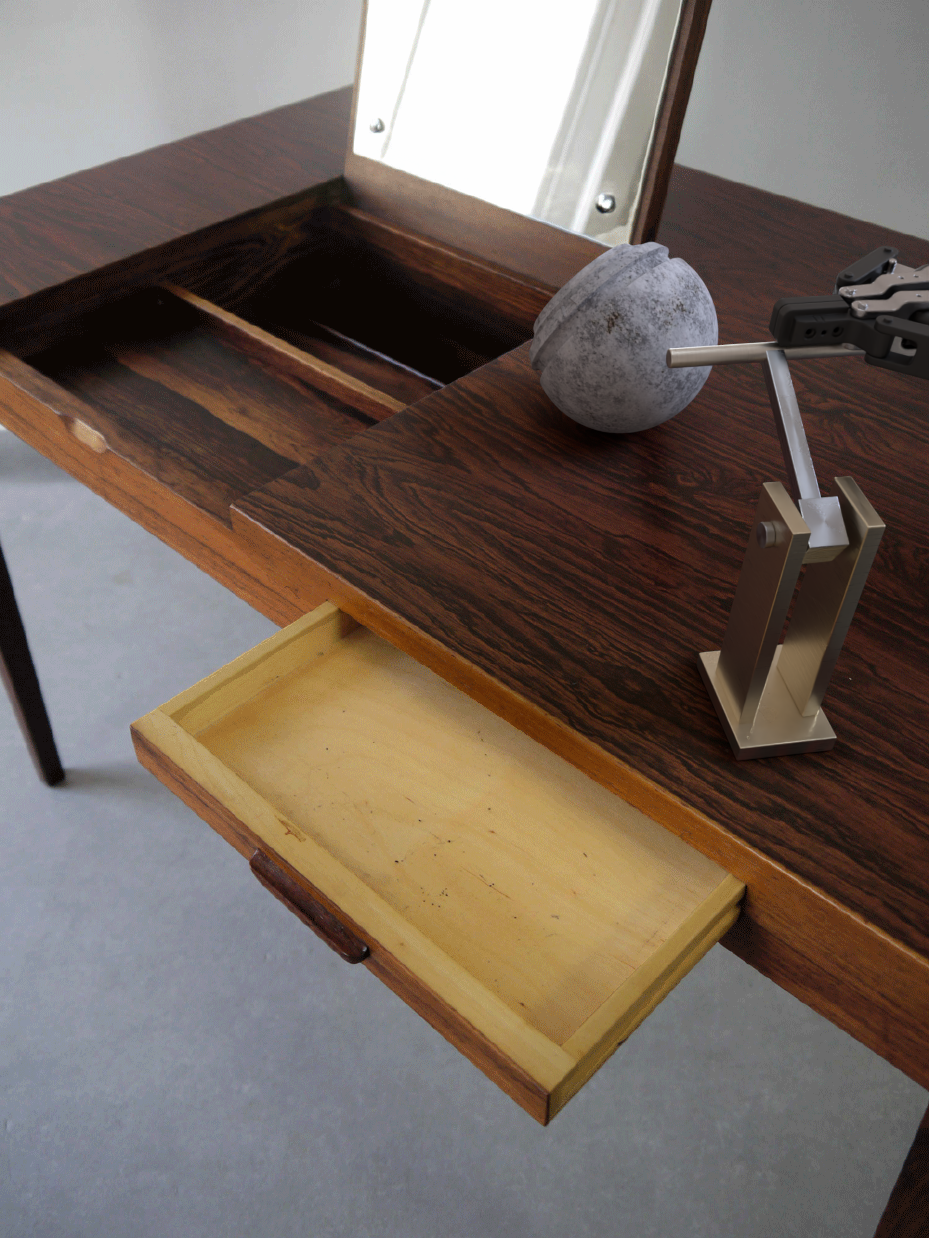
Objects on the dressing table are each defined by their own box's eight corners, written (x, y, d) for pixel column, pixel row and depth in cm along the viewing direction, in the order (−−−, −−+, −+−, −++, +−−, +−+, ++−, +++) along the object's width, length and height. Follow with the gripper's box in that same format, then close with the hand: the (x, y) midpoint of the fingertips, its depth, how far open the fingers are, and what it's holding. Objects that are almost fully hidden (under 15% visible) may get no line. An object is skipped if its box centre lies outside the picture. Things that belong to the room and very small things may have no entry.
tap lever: (661, 362, 60) (672, 338, 58) (860, 348, 62) (878, 324, 59) (705, 573, 56) (718, 556, 54) (916, 553, 58) (938, 536, 55)
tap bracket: (695, 665, 68) (742, 463, 57) (783, 656, 69) (846, 455, 58) (736, 761, 63) (797, 557, 52) (832, 750, 63) (912, 547, 52)
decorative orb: (599, 357, 97) (617, 193, 87) (734, 416, 90) (772, 246, 80) (492, 421, 89) (498, 249, 79) (632, 492, 82) (659, 314, 72)
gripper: (1028, 193, 63) (749, 207, 61) (1166, 298, 53) (840, 318, 51) (984, 310, 68) (725, 326, 66) (1102, 424, 58) (804, 447, 56)
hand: (776, 323), depth 59 cm, fingers closed
